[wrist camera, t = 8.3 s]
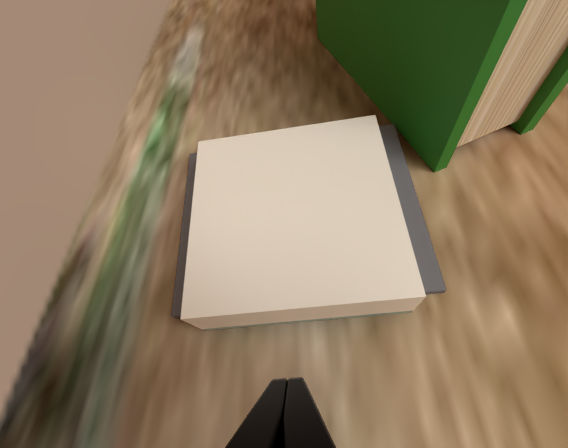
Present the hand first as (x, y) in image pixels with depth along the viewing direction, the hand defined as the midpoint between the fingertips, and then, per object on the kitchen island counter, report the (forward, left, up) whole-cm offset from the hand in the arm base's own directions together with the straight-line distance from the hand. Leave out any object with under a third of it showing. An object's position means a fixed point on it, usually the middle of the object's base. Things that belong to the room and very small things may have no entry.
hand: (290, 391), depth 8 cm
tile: (+3, +1, -6) cm, 7 cm away
